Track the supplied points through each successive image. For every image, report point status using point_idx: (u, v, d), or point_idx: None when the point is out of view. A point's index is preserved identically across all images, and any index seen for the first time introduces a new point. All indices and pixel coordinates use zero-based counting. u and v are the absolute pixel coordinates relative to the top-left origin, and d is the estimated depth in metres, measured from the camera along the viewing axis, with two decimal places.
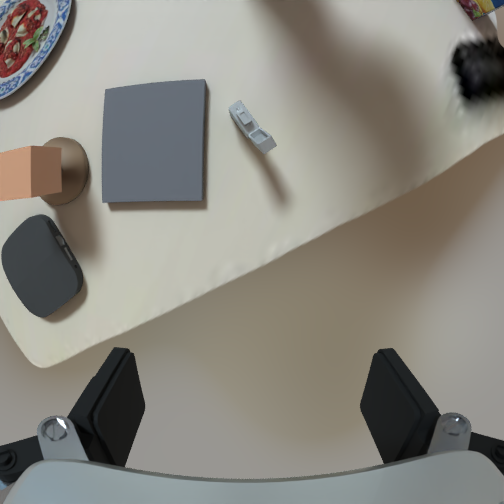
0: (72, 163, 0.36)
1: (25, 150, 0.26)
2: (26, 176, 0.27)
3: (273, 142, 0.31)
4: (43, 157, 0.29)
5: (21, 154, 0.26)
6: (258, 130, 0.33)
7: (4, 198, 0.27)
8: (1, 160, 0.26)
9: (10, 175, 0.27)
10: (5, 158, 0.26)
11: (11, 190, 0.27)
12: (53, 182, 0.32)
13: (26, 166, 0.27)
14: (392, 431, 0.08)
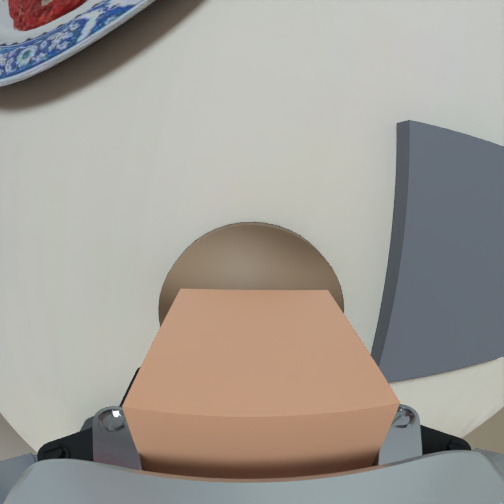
0: None
1: (359, 421, 0.06)
2: None
3: None
4: None
5: (326, 436, 0.06)
6: None
7: None
8: (153, 439, 0.06)
9: None
10: (188, 439, 0.06)
11: None
12: None
13: (350, 467, 0.06)
14: None
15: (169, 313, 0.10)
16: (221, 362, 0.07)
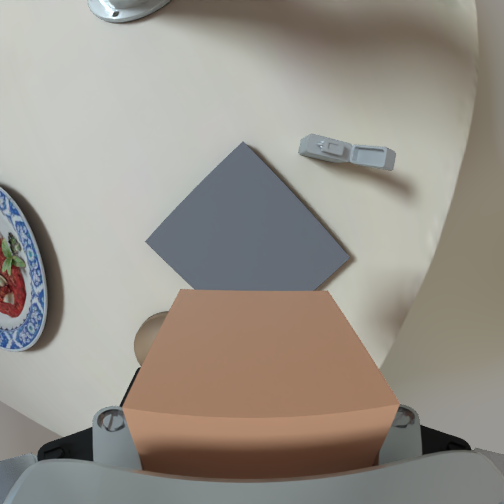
0: None
1: (359, 422, 0.06)
2: None
3: (392, 151, 0.23)
4: None
5: (326, 437, 0.06)
6: (355, 149, 0.25)
7: None
8: (153, 440, 0.06)
9: None
10: (188, 440, 0.06)
11: None
12: None
13: (349, 468, 0.06)
14: None
15: (169, 314, 0.10)
16: (221, 363, 0.07)
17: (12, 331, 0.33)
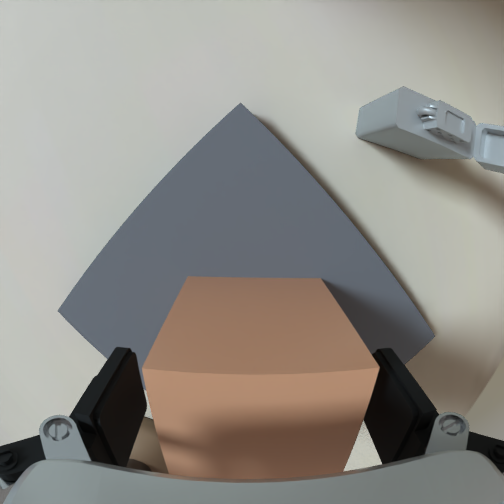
0: (147, 450, 0.17)
1: (344, 383, 0.07)
2: (331, 453, 0.08)
3: None
4: None
5: (316, 396, 0.07)
6: (482, 133, 0.09)
7: None
8: (167, 399, 0.07)
9: (237, 450, 0.08)
10: (197, 398, 0.07)
11: None
12: None
13: (339, 430, 0.08)
14: (389, 431, 0.08)
15: (179, 296, 0.11)
16: (226, 334, 0.09)
17: None
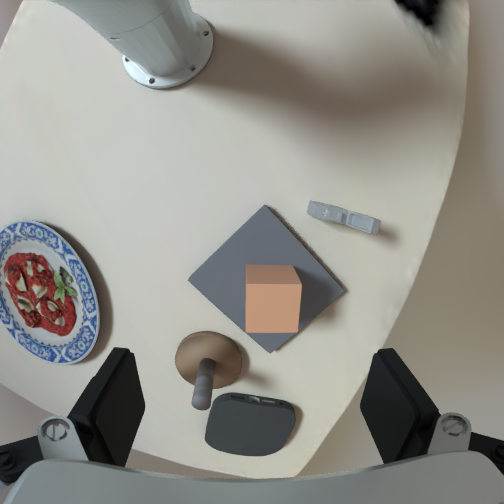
0: (217, 349, 0.43)
1: (293, 287, 0.33)
2: (293, 313, 0.34)
3: (377, 221, 0.32)
4: None
5: (286, 291, 0.33)
6: (350, 214, 0.35)
7: (254, 330, 0.34)
8: (251, 292, 0.33)
9: (267, 309, 0.34)
10: (258, 291, 0.33)
11: (267, 324, 0.34)
12: None
13: (294, 303, 0.34)
14: (392, 431, 0.08)
15: (246, 270, 0.37)
16: (264, 277, 0.35)
17: (61, 347, 0.43)
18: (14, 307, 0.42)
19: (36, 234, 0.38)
